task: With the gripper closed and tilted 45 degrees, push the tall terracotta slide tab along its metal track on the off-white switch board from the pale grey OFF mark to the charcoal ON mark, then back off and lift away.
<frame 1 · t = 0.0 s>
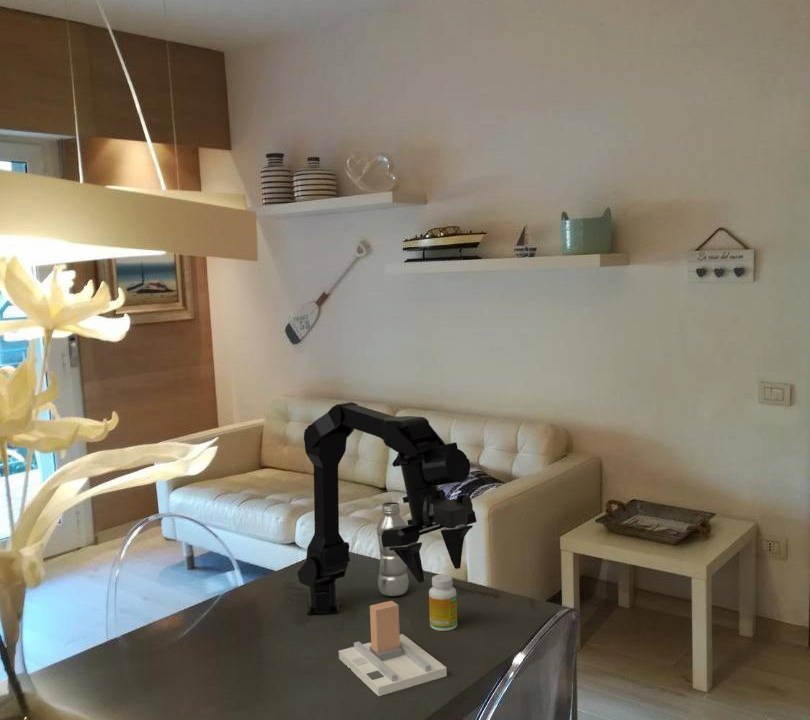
hand: (439, 575, 143), 15 cm above the table, tool pointing down, fingers open, 9 cm apart
slide tab: (385, 629, 144), point 6 cm above the table, slide at 0.0 cm
supplement bottle: (443, 626, 159), on the table
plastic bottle: (393, 595, 176), on the table
switch board: (391, 667, 142), on the table
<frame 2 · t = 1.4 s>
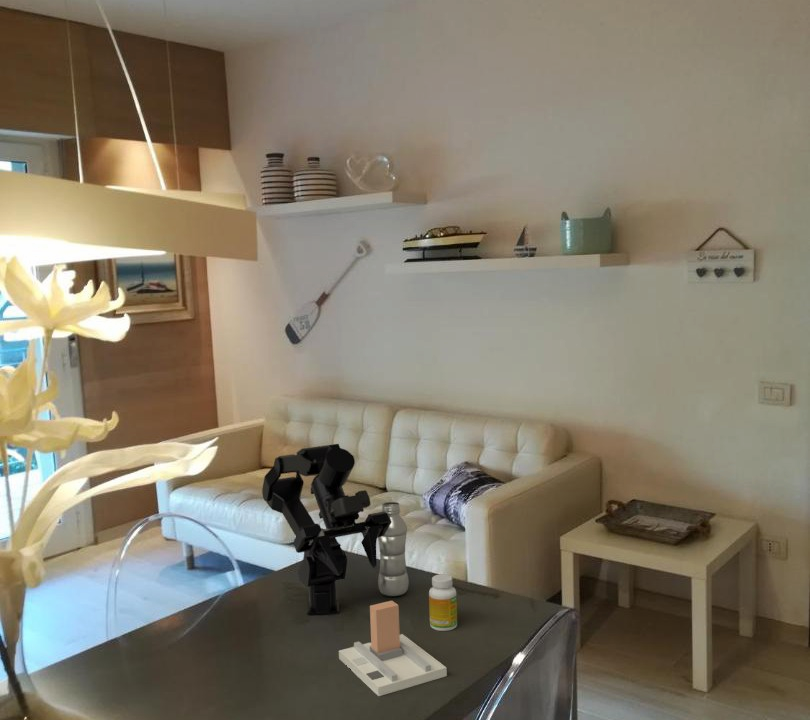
hand: (357, 570, 153), 13 cm above the table, tool tilted 45°, fingers open, 7 cm apart
nothing on the table moved.
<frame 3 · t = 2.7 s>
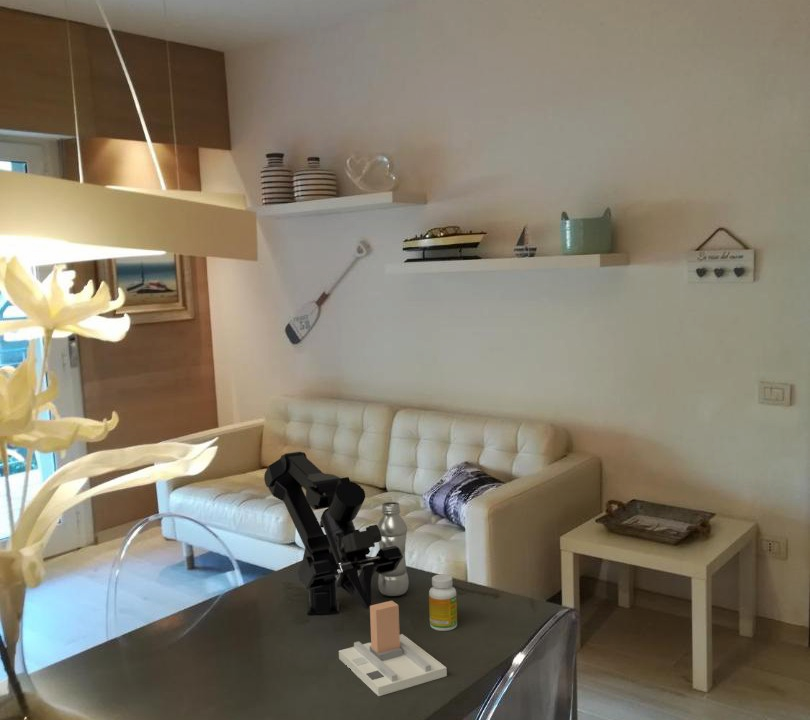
hand: (368, 608, 149), 8 cm above the table, tool tilted 45°, fingers closed
nothing on the table moved.
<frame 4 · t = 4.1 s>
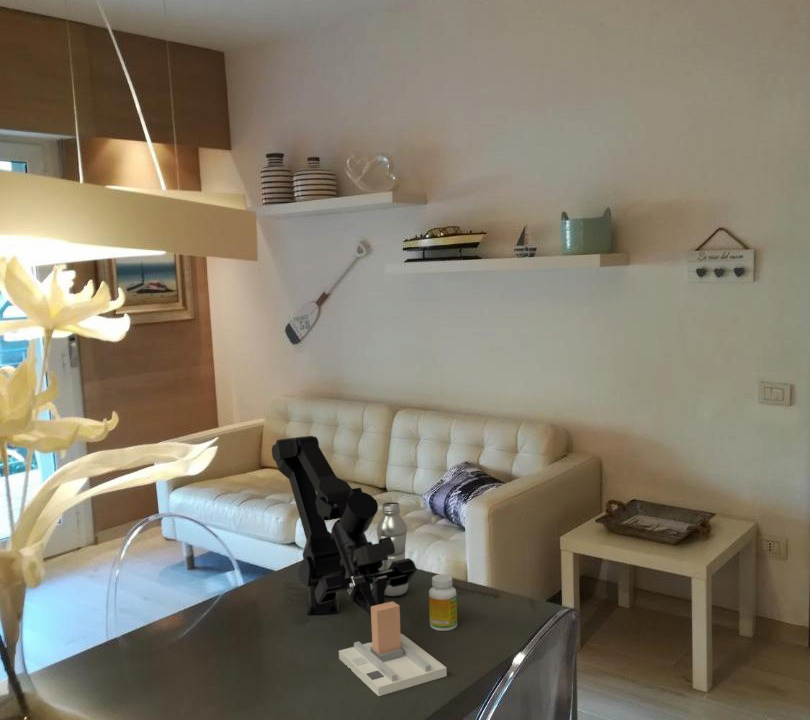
hand: (382, 623, 144), 7 cm above the table, tool tilted 45°, fingers closed, pressing on slide tab
slide tab: (386, 630, 143), point 6 cm above the table, slide at 0.4 cm, touching gripper
everything else where it was.
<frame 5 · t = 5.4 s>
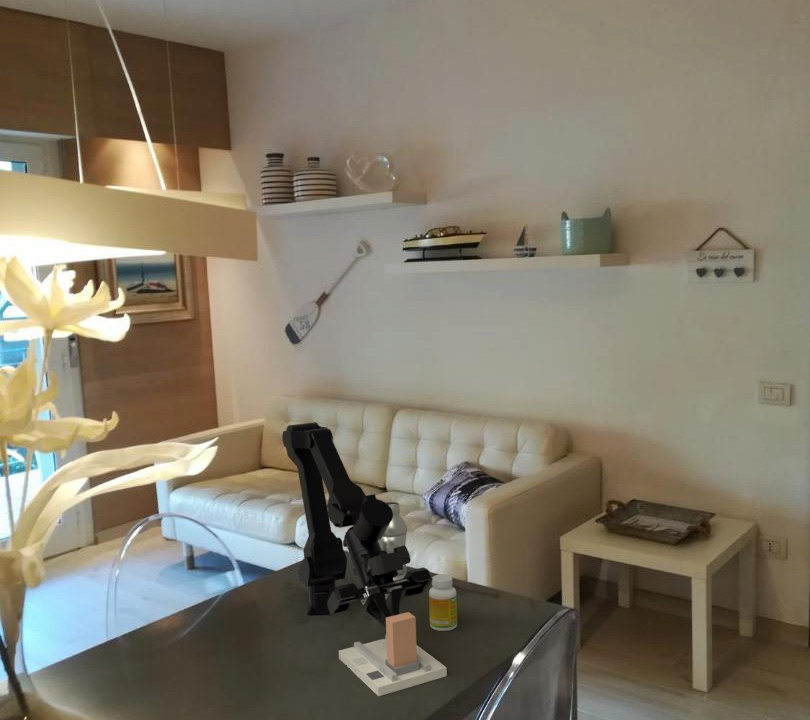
hand: (397, 635, 139), 7 cm above the table, tool tilted 45°, fingers closed, pressing on slide tab
slide tab: (401, 642, 138), point 6 cm above the table, slide at 6.2 cm, touching gripper
everything else where it was.
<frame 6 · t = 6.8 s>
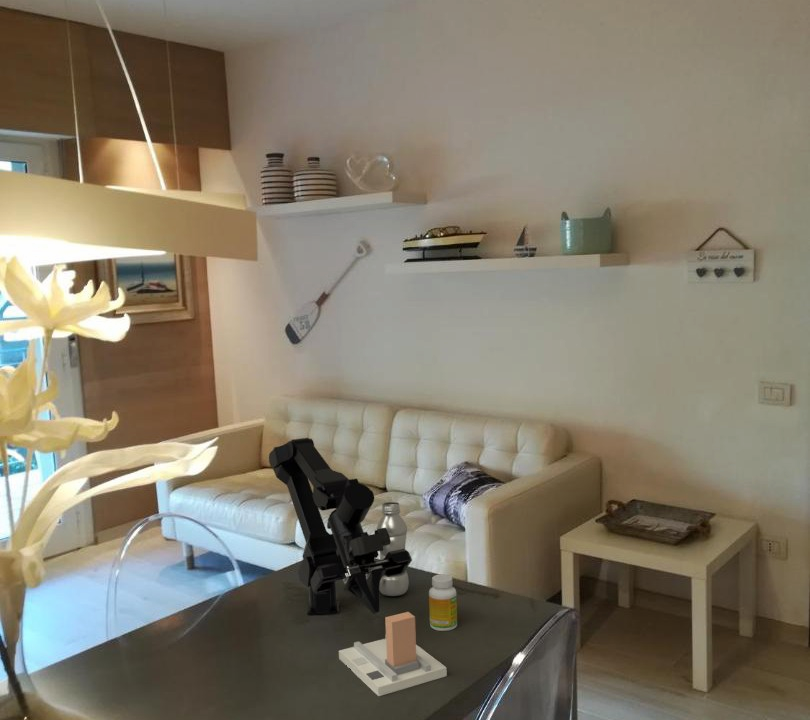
hand: (376, 612, 146), 8 cm above the table, tool tilted 45°, fingers closed
slide tab: (401, 642, 138), point 6 cm above the table, slide at 6.0 cm
everything else where it was.
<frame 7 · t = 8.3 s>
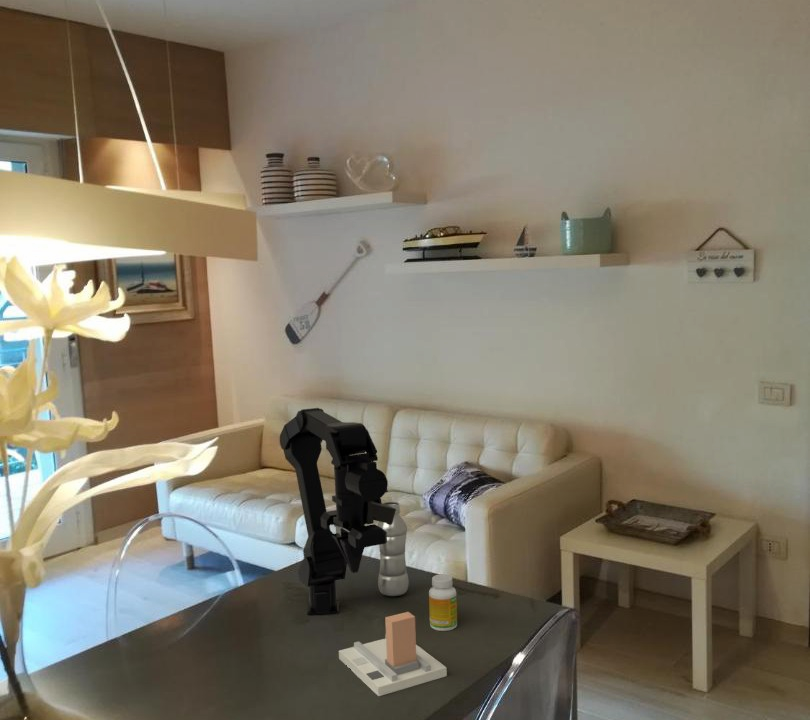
hand: (354, 572, 154), 13 cm above the table, tool pointing down, fingers closed
nothing on the table moved.
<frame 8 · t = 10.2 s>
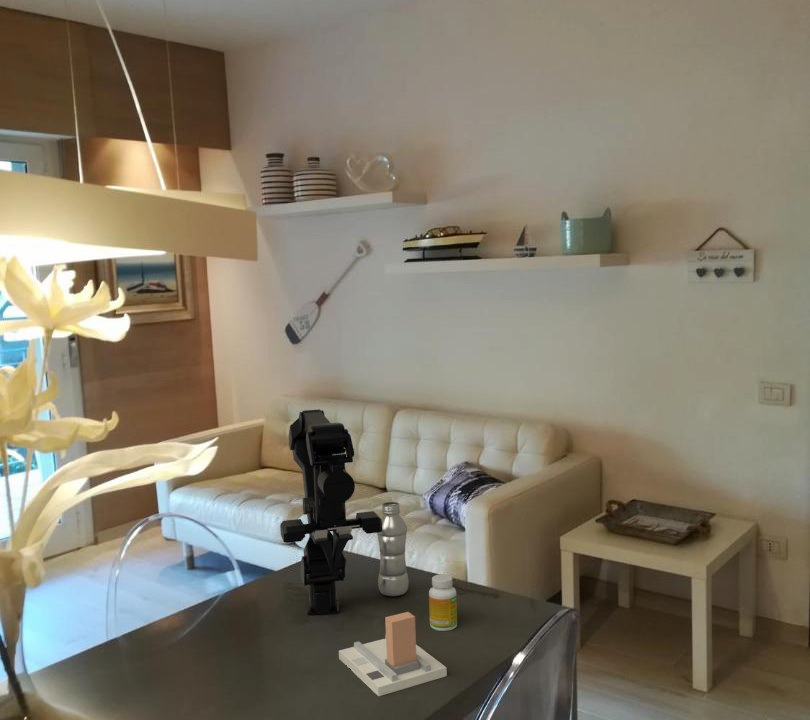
hand: (333, 570, 155), 13 cm above the table, tool pointing down, fingers closed
nothing on the table moved.
at the end: slide tab slide at 6.0 cm; supplement bottle moved 0.2 cm from its start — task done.
